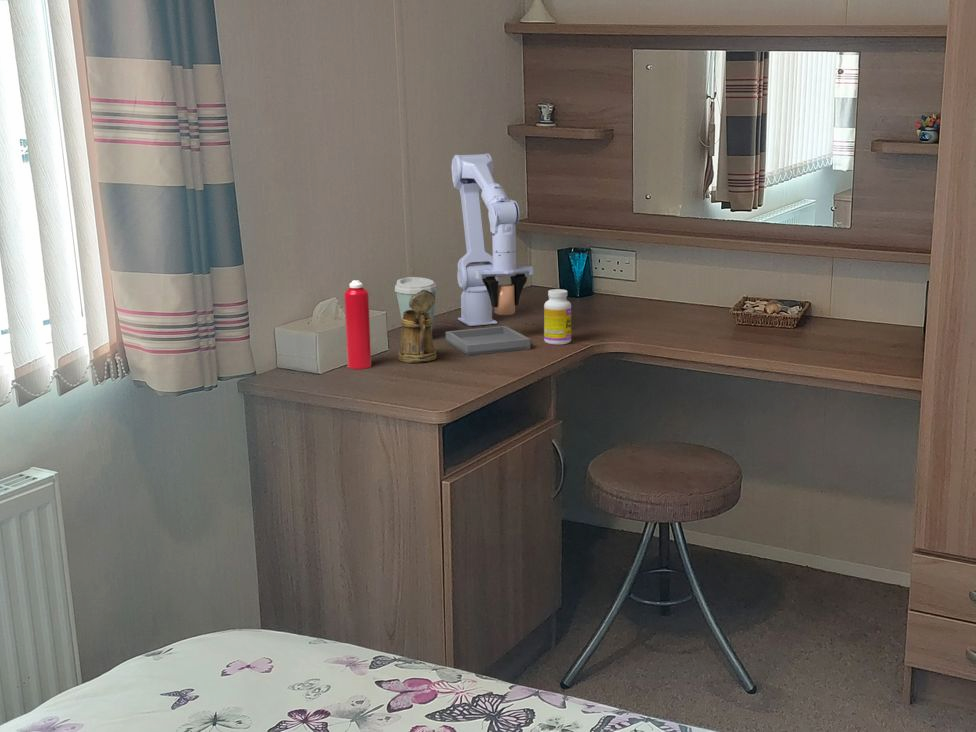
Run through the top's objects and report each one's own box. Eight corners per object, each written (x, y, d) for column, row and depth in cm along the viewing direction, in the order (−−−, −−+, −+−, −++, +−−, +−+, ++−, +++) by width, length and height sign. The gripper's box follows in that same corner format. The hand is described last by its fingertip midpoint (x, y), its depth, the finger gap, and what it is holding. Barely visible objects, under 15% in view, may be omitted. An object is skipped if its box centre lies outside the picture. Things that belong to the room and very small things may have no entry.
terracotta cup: (492, 311, 294) (491, 283, 292) (511, 310, 295) (511, 282, 293) (497, 315, 289) (497, 287, 287) (517, 314, 290) (517, 285, 289)
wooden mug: (406, 369, 266) (404, 291, 261) (394, 356, 278) (391, 281, 274) (445, 366, 268) (443, 288, 264) (430, 352, 281) (428, 278, 276)
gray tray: (445, 341, 292) (445, 331, 291) (505, 335, 297) (505, 325, 297) (467, 355, 277) (467, 345, 277) (530, 349, 283) (530, 339, 282)
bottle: (376, 366, 269) (372, 279, 264) (357, 370, 266) (353, 283, 261) (361, 362, 273) (358, 277, 268) (342, 366, 270) (338, 280, 265)
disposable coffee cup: (447, 338, 295) (446, 279, 292) (417, 346, 288) (415, 285, 284) (417, 332, 302) (416, 274, 299) (387, 339, 295) (385, 280, 291)
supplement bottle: (569, 345, 286) (569, 293, 283) (542, 344, 287) (542, 293, 284) (572, 339, 292) (573, 288, 289) (546, 338, 293) (546, 288, 290)
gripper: (482, 255, 282) (483, 311, 285) (537, 251, 287) (538, 305, 290) (472, 251, 288) (473, 305, 292) (526, 247, 293) (526, 300, 297)
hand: (504, 305), depth 292 cm, fingers closed on terracotta cup, 5 cm apart
